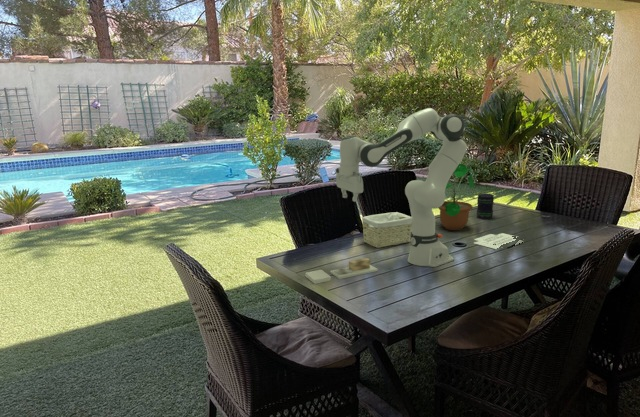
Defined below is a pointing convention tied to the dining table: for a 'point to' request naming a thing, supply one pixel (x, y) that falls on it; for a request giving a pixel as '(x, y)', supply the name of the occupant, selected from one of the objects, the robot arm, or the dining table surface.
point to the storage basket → (386, 229)
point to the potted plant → (456, 204)
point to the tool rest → (355, 272)
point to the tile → (317, 276)
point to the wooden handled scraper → (354, 266)
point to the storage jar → (485, 206)
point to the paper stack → (495, 240)
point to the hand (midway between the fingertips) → (349, 199)
